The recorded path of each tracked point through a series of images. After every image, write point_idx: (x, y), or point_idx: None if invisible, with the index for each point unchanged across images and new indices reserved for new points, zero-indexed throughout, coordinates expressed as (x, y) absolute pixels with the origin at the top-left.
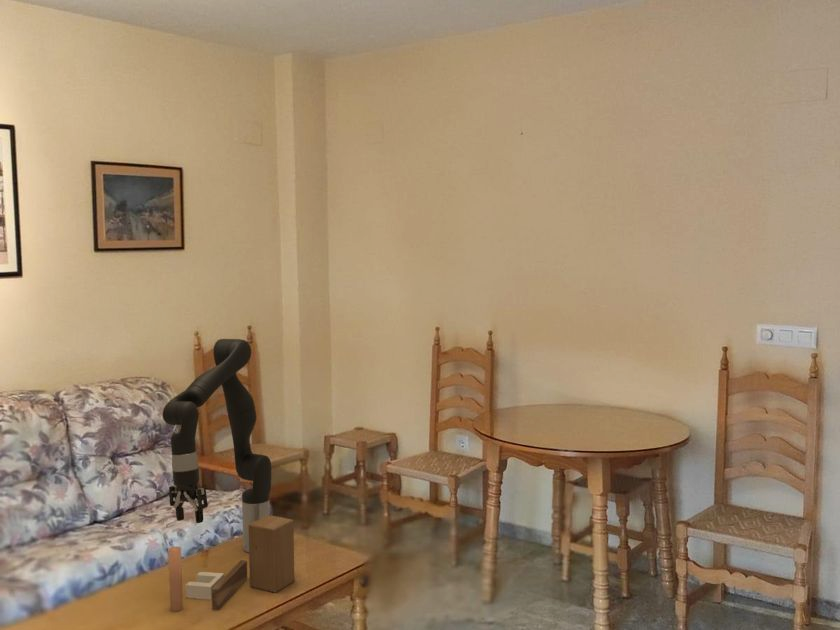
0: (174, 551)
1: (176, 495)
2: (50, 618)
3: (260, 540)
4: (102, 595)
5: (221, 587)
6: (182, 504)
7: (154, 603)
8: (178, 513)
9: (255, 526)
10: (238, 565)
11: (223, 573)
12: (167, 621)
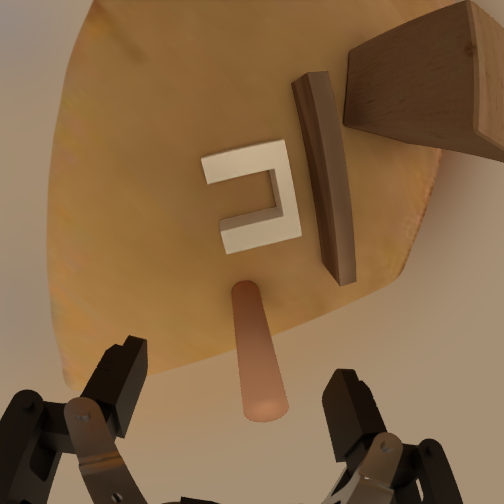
0: (278, 417)
1: (27, 480)
2: (84, 380)
3: (471, 145)
4: (61, 300)
5: (354, 263)
6: (109, 432)
7: (178, 291)
8: (132, 406)
9: (499, 146)
10: (326, 114)
11: (282, 141)
12: None
